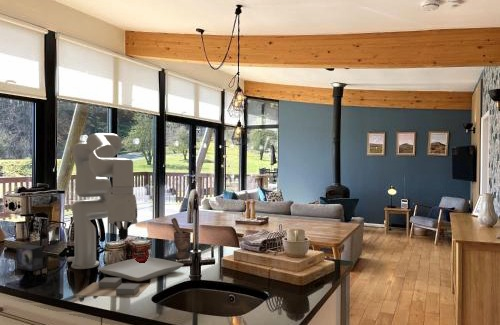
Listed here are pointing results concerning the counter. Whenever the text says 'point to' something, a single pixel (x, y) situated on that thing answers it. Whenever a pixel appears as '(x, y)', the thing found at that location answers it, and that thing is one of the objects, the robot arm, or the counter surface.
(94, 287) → the cork mat
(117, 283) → the tile
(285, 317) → the counter surface
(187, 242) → the mortar and pestle
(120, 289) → the tile
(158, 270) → the square plate
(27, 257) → the small box
